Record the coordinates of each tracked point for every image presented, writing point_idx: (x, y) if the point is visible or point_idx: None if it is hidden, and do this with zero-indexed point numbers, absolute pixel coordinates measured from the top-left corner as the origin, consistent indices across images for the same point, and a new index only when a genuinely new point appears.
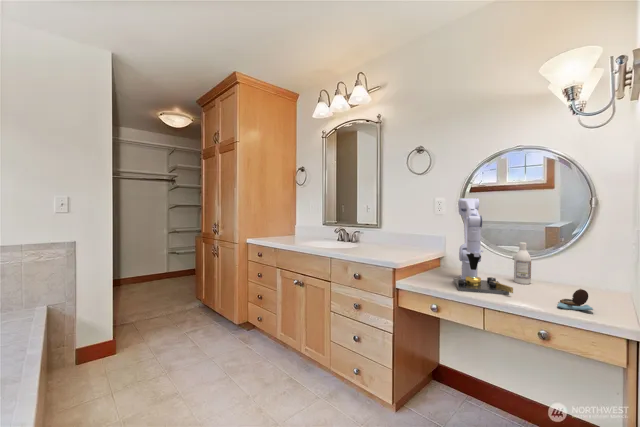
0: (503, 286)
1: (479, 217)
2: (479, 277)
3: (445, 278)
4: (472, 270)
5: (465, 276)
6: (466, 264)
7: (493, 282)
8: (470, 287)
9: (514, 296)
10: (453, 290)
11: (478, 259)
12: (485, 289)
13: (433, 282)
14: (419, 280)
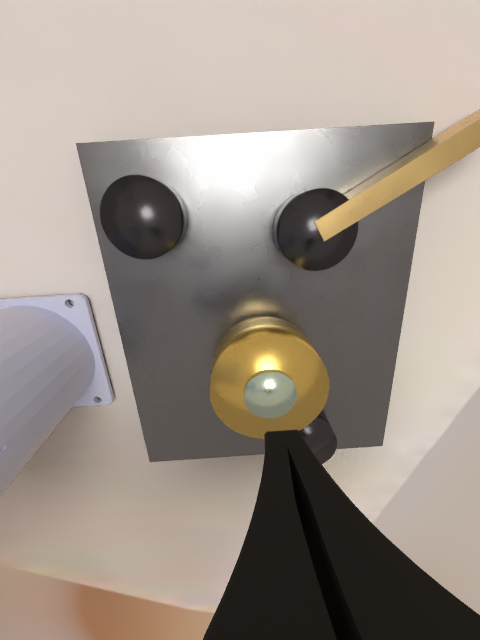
0: (442, 165)
1: None
2: (246, 344)
3: (103, 479)
4: (41, 391)
5: (77, 399)
6: (4, 486)
7: (350, 239)
8: (367, 387)
9: (454, 93)
10: (368, 451)
11: (418, 578)
12: (401, 304)
13: (231, 525)
14: (216, 571)
